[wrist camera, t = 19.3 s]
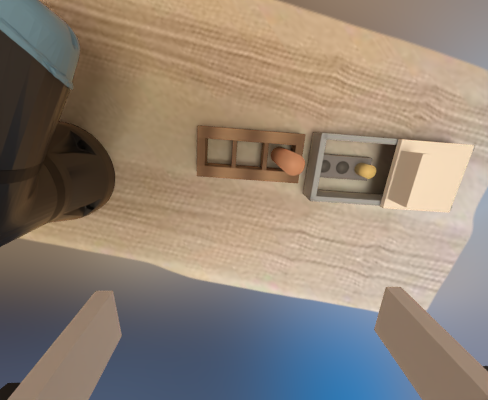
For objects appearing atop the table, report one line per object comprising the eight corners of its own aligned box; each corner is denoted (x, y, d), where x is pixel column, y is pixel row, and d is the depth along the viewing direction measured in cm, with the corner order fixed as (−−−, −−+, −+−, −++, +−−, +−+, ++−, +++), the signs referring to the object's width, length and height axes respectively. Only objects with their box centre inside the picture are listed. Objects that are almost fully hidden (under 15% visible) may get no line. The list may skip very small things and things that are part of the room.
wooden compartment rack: (200, 172, 37) (196, 176, 34) (200, 125, 35) (197, 125, 32) (293, 178, 37) (297, 183, 35) (300, 133, 35) (305, 134, 32)
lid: (379, 206, 35) (401, 218, 30) (398, 139, 32) (425, 141, 27) (444, 210, 35) (475, 223, 31) (469, 144, 32) (507, 147, 28)
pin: (269, 162, 37) (281, 174, 27) (271, 146, 36) (284, 152, 26) (285, 163, 37) (303, 176, 27) (287, 147, 36) (306, 154, 26)
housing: (302, 193, 38) (310, 200, 34) (313, 132, 35) (322, 132, 31) (430, 202, 39) (450, 210, 36) (450, 143, 36) (475, 145, 32)
